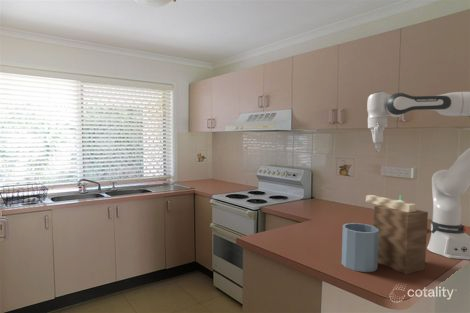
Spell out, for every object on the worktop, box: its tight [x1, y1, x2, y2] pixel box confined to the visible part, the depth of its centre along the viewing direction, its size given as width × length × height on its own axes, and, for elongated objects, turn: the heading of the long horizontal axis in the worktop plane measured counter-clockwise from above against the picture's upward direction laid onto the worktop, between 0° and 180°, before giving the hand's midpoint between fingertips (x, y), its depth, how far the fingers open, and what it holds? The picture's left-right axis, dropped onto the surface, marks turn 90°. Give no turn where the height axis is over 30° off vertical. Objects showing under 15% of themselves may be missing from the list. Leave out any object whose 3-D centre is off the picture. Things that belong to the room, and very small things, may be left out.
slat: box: [365, 194, 417, 212], centre depth 135 cm, size 22×4×3 cm, turn 24°
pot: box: [341, 222, 379, 273], centre depth 130 cm, size 14×14×16 cm
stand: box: [373, 205, 429, 275], centre depth 131 cm, size 16×12×24 cm
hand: (378, 151), depth 155 cm, fingers open, 8 cm apart
